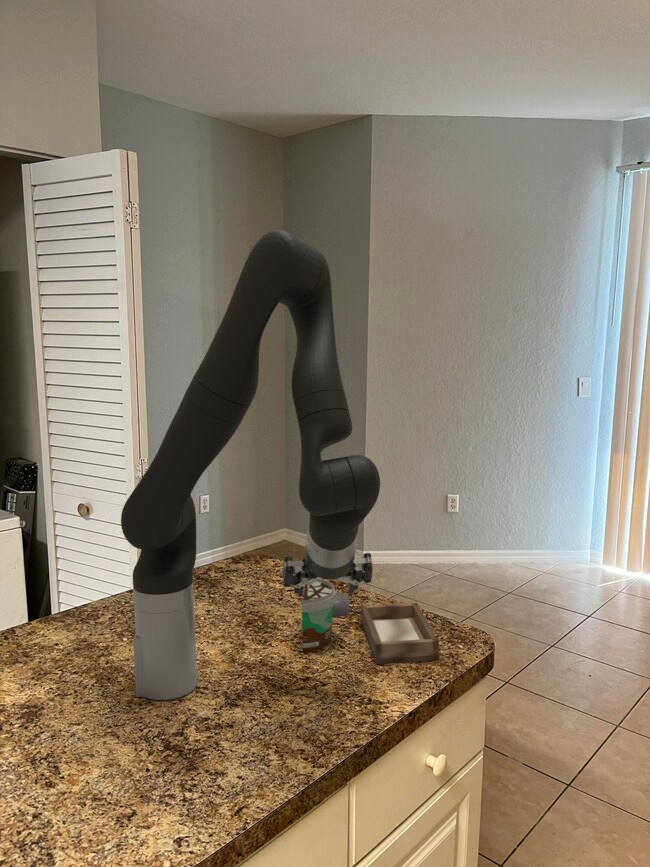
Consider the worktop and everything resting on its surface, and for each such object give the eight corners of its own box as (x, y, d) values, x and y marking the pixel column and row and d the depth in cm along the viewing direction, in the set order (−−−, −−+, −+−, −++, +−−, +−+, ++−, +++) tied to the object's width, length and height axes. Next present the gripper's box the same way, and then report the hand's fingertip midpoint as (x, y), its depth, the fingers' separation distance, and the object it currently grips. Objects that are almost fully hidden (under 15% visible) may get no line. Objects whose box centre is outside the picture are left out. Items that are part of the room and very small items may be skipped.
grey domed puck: (321, 618, 138) (321, 604, 138) (318, 606, 144) (318, 593, 144) (351, 617, 139) (351, 602, 138) (347, 605, 145) (347, 591, 144)
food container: (337, 655, 122) (336, 601, 121) (302, 655, 122) (301, 601, 121) (337, 626, 134) (337, 576, 133) (305, 626, 134) (304, 576, 133)
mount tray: (375, 664, 119) (375, 644, 118) (361, 623, 135) (361, 605, 135) (438, 660, 120) (439, 641, 119) (416, 620, 136) (416, 603, 136)
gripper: (375, 520, 106) (364, 567, 119) (282, 524, 105) (281, 571, 118) (381, 565, 102) (369, 608, 115) (284, 569, 101) (283, 613, 114)
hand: (325, 589), depth 117 cm, fingers open, 8 cm apart
